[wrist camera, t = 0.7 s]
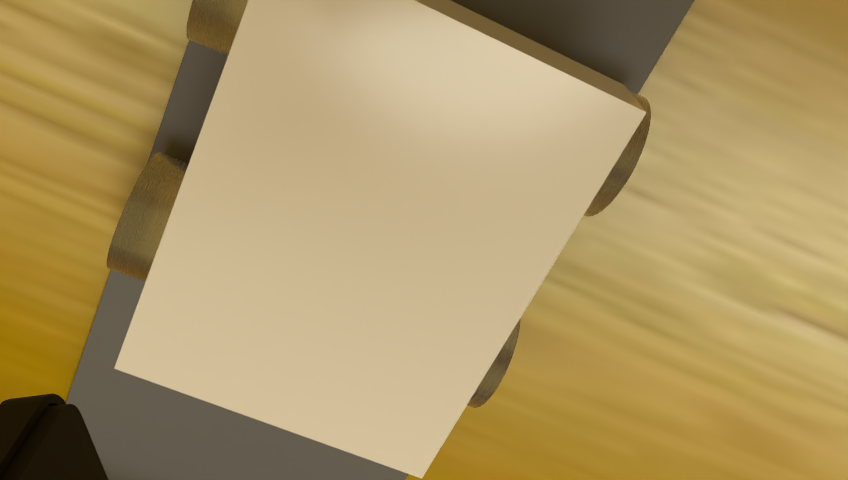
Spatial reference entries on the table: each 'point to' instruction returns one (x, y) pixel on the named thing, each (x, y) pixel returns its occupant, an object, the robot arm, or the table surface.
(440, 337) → the slab
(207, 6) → the roller
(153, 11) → the table surface
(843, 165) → the table surface
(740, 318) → the table surface
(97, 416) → the runway
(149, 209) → the roller
